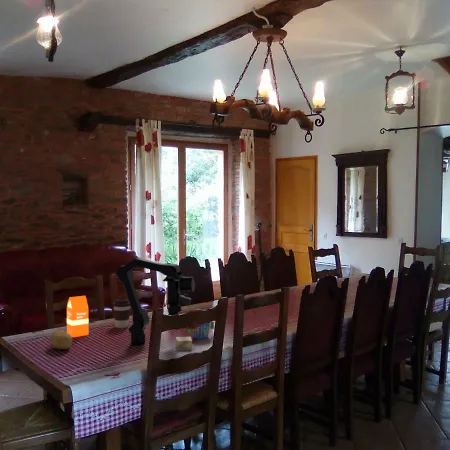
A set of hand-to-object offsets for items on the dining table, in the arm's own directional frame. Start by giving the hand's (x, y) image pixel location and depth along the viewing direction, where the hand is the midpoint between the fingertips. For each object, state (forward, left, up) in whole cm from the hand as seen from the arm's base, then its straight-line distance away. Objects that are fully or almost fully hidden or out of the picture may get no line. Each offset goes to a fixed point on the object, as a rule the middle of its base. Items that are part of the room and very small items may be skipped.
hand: (173, 322), depth 243 cm
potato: (-52, +3, -12) cm, 54 cm away
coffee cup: (-26, +42, -12) cm, 51 cm away
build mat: (+5, -3, -12) cm, 13 cm away
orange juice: (-48, +28, -12) cm, 57 cm away
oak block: (+5, -3, -11) cm, 12 cm away
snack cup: (+15, +14, -12) cm, 24 cm away
